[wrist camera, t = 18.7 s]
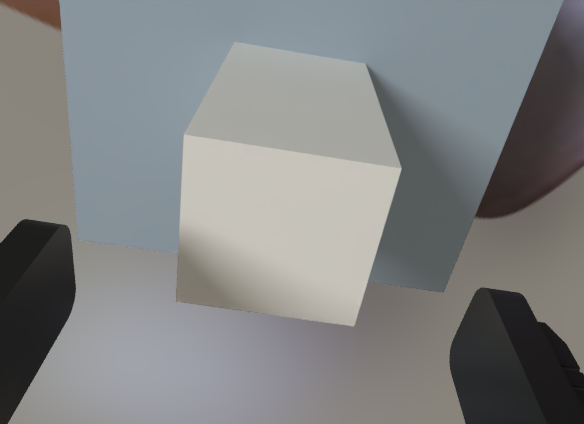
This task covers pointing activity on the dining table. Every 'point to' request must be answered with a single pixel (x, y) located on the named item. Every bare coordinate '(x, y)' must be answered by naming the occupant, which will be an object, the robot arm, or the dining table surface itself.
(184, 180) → the block
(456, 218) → the box lid
